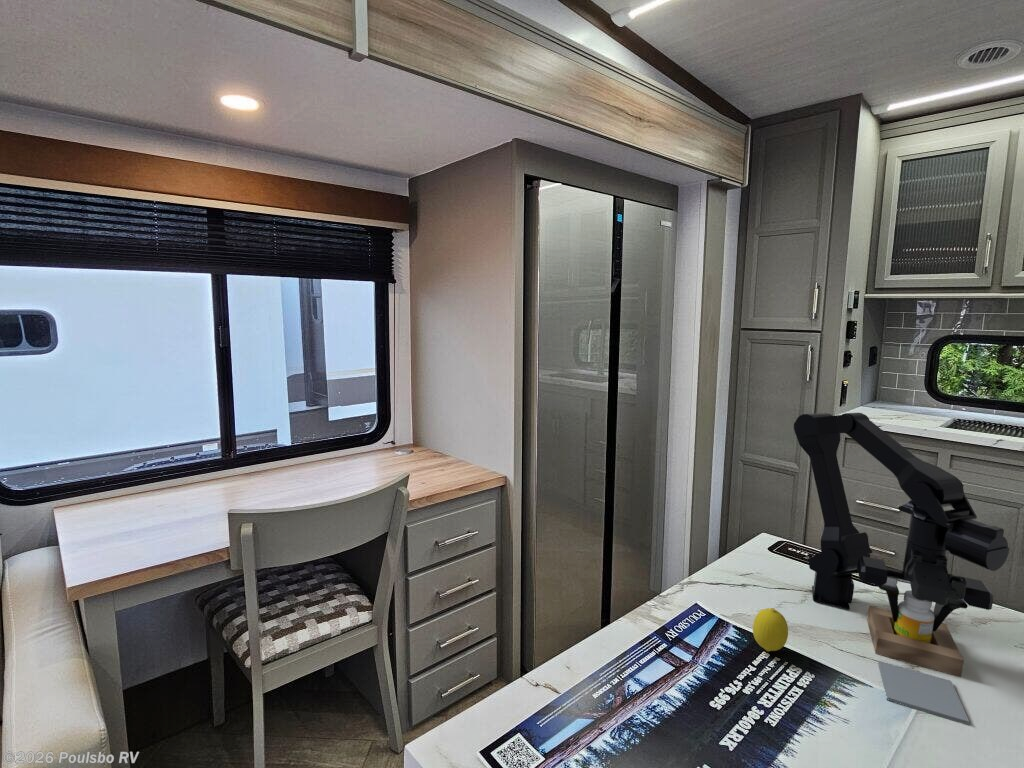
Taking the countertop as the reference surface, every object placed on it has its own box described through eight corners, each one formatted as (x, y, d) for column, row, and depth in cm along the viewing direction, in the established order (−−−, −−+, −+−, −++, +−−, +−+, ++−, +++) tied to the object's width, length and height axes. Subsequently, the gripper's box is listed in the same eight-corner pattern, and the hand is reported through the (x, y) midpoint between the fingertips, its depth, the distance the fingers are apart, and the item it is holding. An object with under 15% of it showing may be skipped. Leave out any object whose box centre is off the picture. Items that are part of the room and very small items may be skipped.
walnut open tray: (875, 653, 96) (877, 637, 96) (866, 619, 107) (869, 605, 106) (960, 676, 91) (963, 660, 90) (942, 638, 101) (945, 623, 101)
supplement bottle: (884, 637, 101) (892, 588, 100) (911, 636, 102) (919, 587, 100) (908, 655, 96) (916, 604, 94) (936, 655, 96) (945, 604, 95)
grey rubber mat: (887, 700, 84) (887, 697, 84) (877, 663, 93) (878, 660, 93) (968, 724, 80) (969, 721, 80) (950, 683, 89) (951, 680, 89)
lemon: (782, 645, 97) (788, 604, 96) (787, 664, 92) (792, 620, 91) (749, 638, 99) (754, 597, 98) (751, 656, 94) (756, 613, 93)
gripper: (870, 548, 93) (857, 633, 95) (1012, 577, 84) (994, 668, 87) (862, 525, 102) (851, 602, 105) (989, 549, 94) (973, 632, 97)
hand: (913, 625), depth 98 cm, fingers closed on supplement bottle, 5 cm apart
